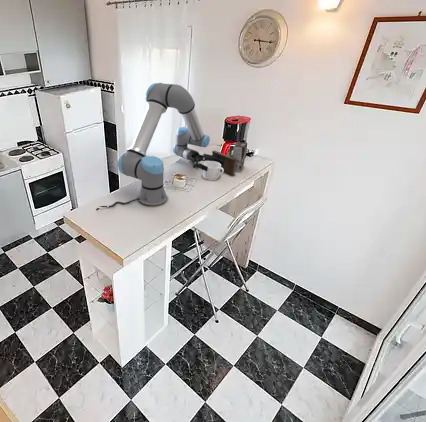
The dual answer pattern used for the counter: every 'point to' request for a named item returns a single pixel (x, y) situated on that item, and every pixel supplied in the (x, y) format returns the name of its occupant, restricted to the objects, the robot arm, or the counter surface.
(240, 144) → the coffee box
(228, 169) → the wall board
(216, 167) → the mug
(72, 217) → the counter surface
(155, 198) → the robot arm
